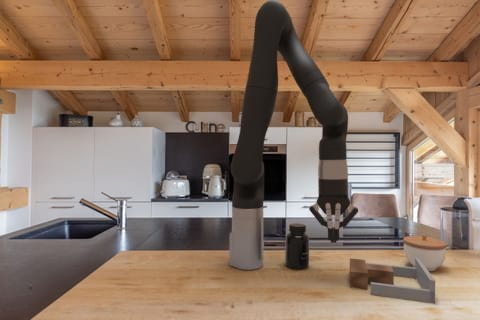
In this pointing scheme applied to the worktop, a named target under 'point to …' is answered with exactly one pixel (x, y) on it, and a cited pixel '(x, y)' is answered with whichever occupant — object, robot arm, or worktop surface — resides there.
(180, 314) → the worktop surface
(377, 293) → the grey fence
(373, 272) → the t block
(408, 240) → the lidded jar
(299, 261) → the supplement bottle
